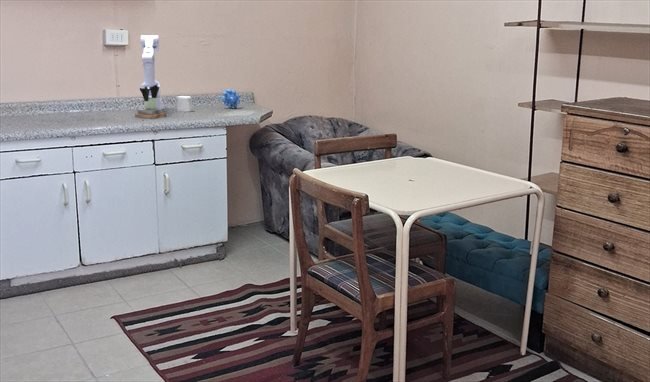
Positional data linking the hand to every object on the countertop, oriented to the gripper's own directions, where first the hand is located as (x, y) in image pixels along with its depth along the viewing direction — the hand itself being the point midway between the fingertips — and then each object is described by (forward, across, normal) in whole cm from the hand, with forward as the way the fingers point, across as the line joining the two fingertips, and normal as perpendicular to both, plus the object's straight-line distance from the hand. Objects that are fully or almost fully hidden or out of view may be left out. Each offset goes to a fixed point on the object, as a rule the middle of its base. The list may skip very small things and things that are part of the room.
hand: (150, 100), depth 399 cm
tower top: (+7, 0, 0) cm, 7 cm away
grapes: (+9, -50, +24) cm, 56 cm away
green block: (+5, 0, 0) cm, 5 cm away
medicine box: (+9, -28, +5) cm, 29 cm away
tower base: (+10, 0, 0) cm, 10 cm away
